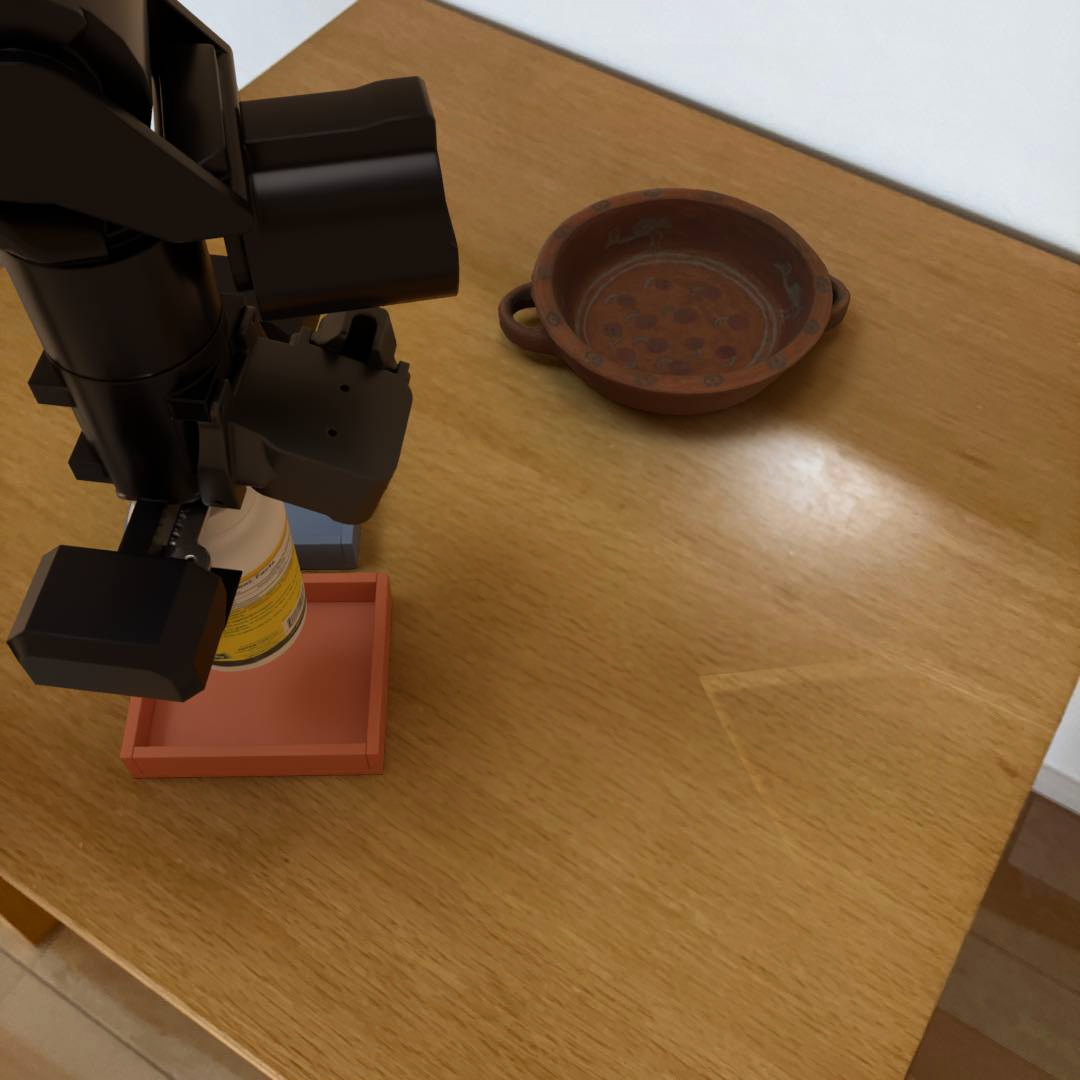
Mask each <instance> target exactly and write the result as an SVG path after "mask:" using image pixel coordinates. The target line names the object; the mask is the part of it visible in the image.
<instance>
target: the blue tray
mask: <svg viewBox="0 0 1080 1080" xmlns="http://www.w3.org/2000/svg"><path fill="white" fill-rule="evenodd" d="M283 503H284V506H285V510H286V514H287V518H288V522H289V526H290V531H291V535H292V539H293V543H294V547H295V551H296V555H297V559H298V563H299V567H300V570H322V569H323V570H330V569H331V570H332V569H333V570H335V569H337V570H338V569H339V570H342V569H346V570H347V569H358V564H359V550H360V536H361V525H362V524H358V525H347V524H342V523H339V522H336V521H333V520H332V519H331V518H330V517H328V516H327V515H324V514H321V513H317V512H314V511H311V510H308V509H305V508H301V507H298V506H295V505H292V504H289V503H285V502H283ZM131 505H132V501H129V505H128V511H127V515H126V519H125V524H124V530H123V535H124V533H125V530H126V527H127V524H128V515H129V511H130V507H131ZM123 535H122V536H123Z"/></svg>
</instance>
